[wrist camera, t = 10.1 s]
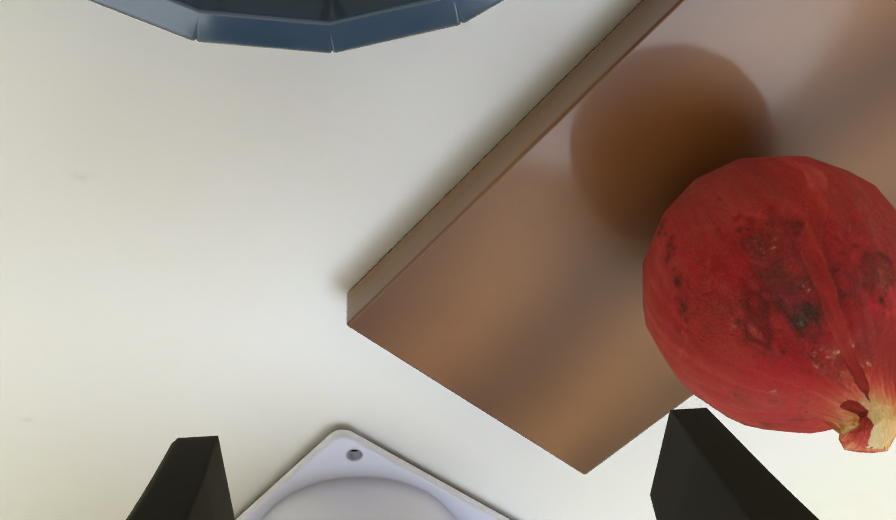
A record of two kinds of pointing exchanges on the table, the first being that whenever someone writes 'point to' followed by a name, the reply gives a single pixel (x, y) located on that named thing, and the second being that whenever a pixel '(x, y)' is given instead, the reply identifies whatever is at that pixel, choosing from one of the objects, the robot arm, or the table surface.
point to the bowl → (300, 20)
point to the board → (620, 207)
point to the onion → (781, 298)
